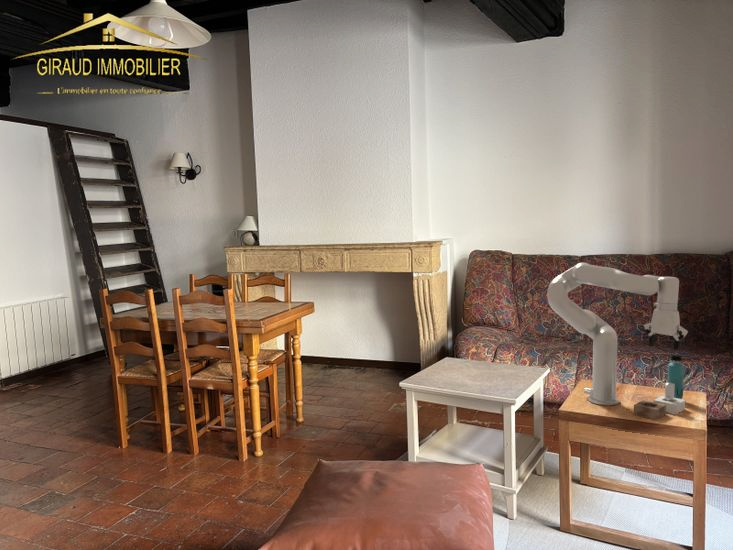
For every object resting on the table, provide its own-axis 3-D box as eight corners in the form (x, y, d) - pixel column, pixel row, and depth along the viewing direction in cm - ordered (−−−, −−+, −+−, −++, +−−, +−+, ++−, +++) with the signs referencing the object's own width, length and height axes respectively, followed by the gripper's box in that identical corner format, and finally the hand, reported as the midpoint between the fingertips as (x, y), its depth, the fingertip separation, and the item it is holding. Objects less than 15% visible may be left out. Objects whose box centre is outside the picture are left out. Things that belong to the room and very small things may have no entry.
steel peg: (663, 409, 252) (663, 383, 251) (666, 407, 254) (667, 381, 253) (671, 411, 249) (672, 384, 248) (674, 409, 252) (675, 383, 250)
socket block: (633, 414, 246) (633, 404, 245) (643, 409, 252) (643, 400, 252) (656, 419, 239) (656, 409, 239) (665, 414, 245) (666, 404, 245)
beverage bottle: (671, 403, 260) (673, 356, 258) (663, 398, 266) (664, 353, 265) (686, 402, 260) (688, 356, 258) (677, 398, 267) (679, 353, 265)
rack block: (653, 409, 252) (653, 400, 251) (662, 404, 258) (662, 395, 258) (676, 414, 245) (676, 404, 245) (684, 409, 251) (685, 399, 251)
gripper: (641, 304, 255) (639, 345, 257) (685, 310, 242) (681, 352, 244) (650, 303, 260) (647, 342, 262) (692, 308, 247) (689, 350, 249)
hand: (663, 347), depth 253 cm, fingers open, 9 cm apart
